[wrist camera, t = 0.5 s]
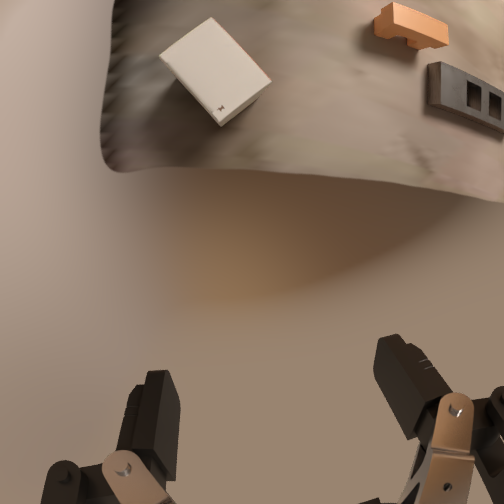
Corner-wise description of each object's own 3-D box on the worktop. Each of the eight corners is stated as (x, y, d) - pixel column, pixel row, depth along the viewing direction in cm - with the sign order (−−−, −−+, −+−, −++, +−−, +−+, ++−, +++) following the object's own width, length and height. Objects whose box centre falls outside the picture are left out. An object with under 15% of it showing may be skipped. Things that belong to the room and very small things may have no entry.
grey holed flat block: (428, 64, 31) (440, 61, 28) (505, 100, 33) (518, 100, 30) (427, 104, 33) (440, 103, 30) (504, 134, 35) (517, 136, 32)
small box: (259, 97, 32) (275, 83, 22) (220, 128, 33) (219, 125, 23) (214, 47, 29) (212, 14, 19) (175, 77, 30) (156, 55, 20)
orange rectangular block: (370, 16, 28) (392, 1, 23) (421, 33, 29) (447, 24, 24) (370, 35, 29) (393, 23, 24) (422, 52, 30) (448, 45, 25)
